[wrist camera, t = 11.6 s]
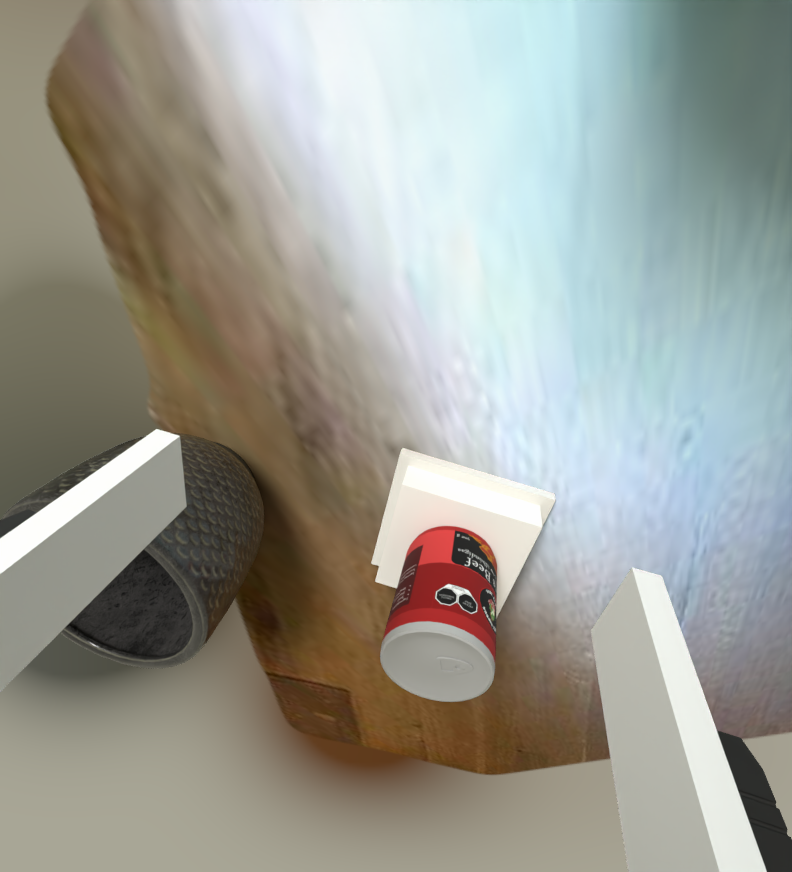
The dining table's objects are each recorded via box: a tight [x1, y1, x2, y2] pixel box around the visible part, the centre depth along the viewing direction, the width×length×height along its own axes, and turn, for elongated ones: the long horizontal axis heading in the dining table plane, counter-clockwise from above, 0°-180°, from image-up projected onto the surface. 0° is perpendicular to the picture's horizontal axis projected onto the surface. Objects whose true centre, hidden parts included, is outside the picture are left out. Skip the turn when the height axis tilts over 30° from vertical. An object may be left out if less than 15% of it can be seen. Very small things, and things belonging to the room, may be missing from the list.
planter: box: [1, 433, 265, 668], centre depth 41 cm, size 17×17×16 cm
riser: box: [371, 448, 556, 618], centre depth 42 cm, size 14×14×4 cm
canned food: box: [380, 526, 497, 702], centre depth 36 cm, size 8×8×11 cm
